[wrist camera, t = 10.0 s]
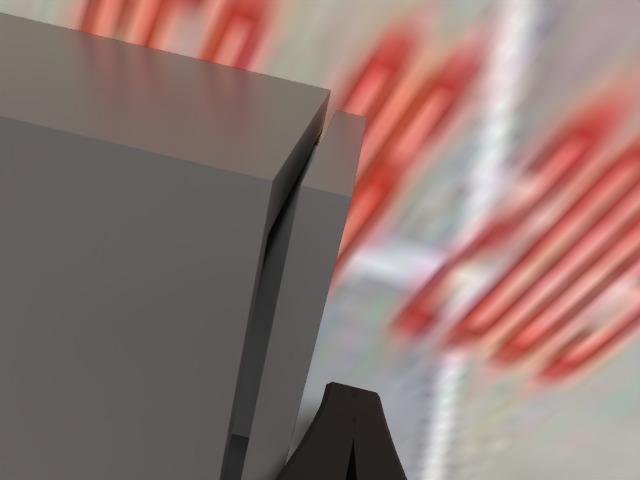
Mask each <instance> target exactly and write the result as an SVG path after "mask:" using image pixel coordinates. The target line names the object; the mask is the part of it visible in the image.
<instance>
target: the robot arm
mask: <svg viewBox="0 0 640 480" xmlns="http://www.w3.org/2000/svg"><path fill="white" fill-rule="evenodd" d="M275 480H407V478H406V476H405V473H404V470H403V468H402V465H401V463H400V460H399V457H398V455H397V452H396V450H395V447H394V444H393V441H392V438H391V435H390V432H389V429H388V426H387V423H386V419H385V416H384V412H383V408H382V404H381V400H380V397H379V395H378V394H377V393H376V392H372V391H368V390H364V389H360V388H356V387H351V386H347V385H343V384H339V383H335V382H331V383H329V384H326V388H325V392H324V395H323V399H322V403H321V405H320V407H319V410H318V412H317V414H316V416H315V418H314V420H313V422H312V424H311V425H310V427H309V429H308V431H307V432H306V434H305V436H304V438H303V439H302V441H301V443H300V444H299V446H298V448H297V449H296V451H295V452H294V453H293V455H292V456H291V458H290V459H289V461H288V462H287V464H286V465H285V467H284V468H283V470H282V471H281V472H280V474H279V475H278V476H277V478H276V479H275Z"/></svg>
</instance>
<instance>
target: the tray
mask: <svg viewBox="0 0 640 480" xmlns="http://www.w3.org/2000/svg"><path fill="white" fill-rule="evenodd" d="M366 121H367V117H362V116H358V115H354V114H350V113H345V112H341V111H337V110H336V112H335V114H334V116H333V119H332V121H331V123H330V125H329V127H328V129H327V131H326V133H325V135H324V137H323V139H322V142H321V144H320V146H318V145H314V146H313V148H312V150H311V152H310V154H309V156H308V158H307V160H306V162H305V164H304V166H303V168H302V169H301V171H300V173H299V175H298V177H297V179H296V181H295V183H294V185H293V187H292V189H291V191H290V193H289V195H288V197H287V198H286V200H285V202H284V204H283V206H282V208H281V210H280V212H279V214H278V216H277V218H276V220H275V222H274V224H273V226H272V227H271V229H270V231H269V233H268V237H267V243H266V248H265V254H264V259H263V265H262V270H261V276H260V281H259V287H258V292H257V298H256V303H255V309H254V314H253V319H252V325H251V330H250V336H249V341H248V347H247V352H246V358H245V363H244V369H243V374H242V380H241V385H240V391H239V396H238V401H237V407H236V412H235V418H234V423H233V429H232V434H235V435H239V436H243V437H247V438H249V442H248V447H247V452H246V457H245V462H244V467H243V472H242V477H241V480H275V479H276V478H277V476H278V475H279V474H280V472H281V471H282V470H283V468H284V467H285V463H286V459H287V455H288V451H289V447H290V443H291V439H292V435H293V431H294V427H295V423H296V419H297V415H298V411H299V407H300V403H301V399H302V395H303V391H304V387H305V383H306V379H307V375H308V371H309V367H310V363H311V359H312V355H313V351H314V347H315V342H316V338H317V334H318V330H319V326H320V322H321V318H322V314H323V310H324V306H325V302H326V298H327V294H328V290H329V286H330V282H331V278H332V274H333V270H334V266H335V262H336V258H337V254H338V250H339V246H340V242H341V238H342V234H343V230H344V226H345V222H346V218H347V214H348V210H349V206H350V202H351V198H352V193H353V188H354V183H355V178H356V172H357V167H358V162H359V157H360V152H361V147H362V141H363V136H364V131H365V126H366Z"/></svg>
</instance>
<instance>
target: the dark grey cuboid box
mask: <svg viewBox="0 0 640 480" xmlns="http://www.w3.org/2000/svg"><path fill="white" fill-rule="evenodd" d="M330 92H331V90H327V89H323V88H319V87H314V86H310V85H306V84H302V83H297V82H293V81H289V80H285V79H280V78H276V77H272V76H267V75H263V74H259V73H255V72H250V71H246V70H242V69H238V68H233V67H229V66H225V65H221V64H216V63H212V62H208V61H204V60H199V59H195V58H191V57H187V56H182V55H178V54H174V53H170V52H165V51H161V50H157V49H152V48H148V47H144V46H140V45H135V44H131V43H127V42H123V41H118V40H114V39H110V38H106V37H101V36H97V35H93V34H89V33H84V32H80V31H76V30H72V29H67V28H63V27H59V26H55V25H50V24H46V23H42V22H37V21H33V20H29V19H25V18H20V17H16V16H12V15H8V14H3V13H0V480H241V477H242V472H243V467H244V462H245V457H246V452H247V447H248V442H249V438H247V437H243V436H239V435H235V434H232V429H233V423H234V418H235V412H236V407H237V401H238V396H239V391H240V385H241V380H242V374H243V369H244V363H245V358H246V352H247V347H248V341H249V336H250V330H251V325H252V319H253V314H254V309H255V303H256V298H257V292H258V287H259V281H260V276H261V270H262V265H263V259H264V254H265V248H266V243H267V237H268V233H269V231H270V229H271V227H272V226H273V224H274V222H275V220H276V218H277V216H278V214H279V212H280V210H281V208H282V206H283V204H284V202H285V200H286V198H287V197H288V195H289V193H290V191H291V189H292V187H293V185H294V183H295V181H296V179H297V177H298V175H299V173H300V171H301V169H302V168H303V166H304V164H305V162H306V160H307V158H308V156H309V154H310V152H311V150H312V148H313V146H314V144H315V142H316V140H317V139H318V137H319V135H320V133H321V131H322V129H323V125H324V120H325V115H326V111H327V106H328V101H329V97H330Z"/></svg>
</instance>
